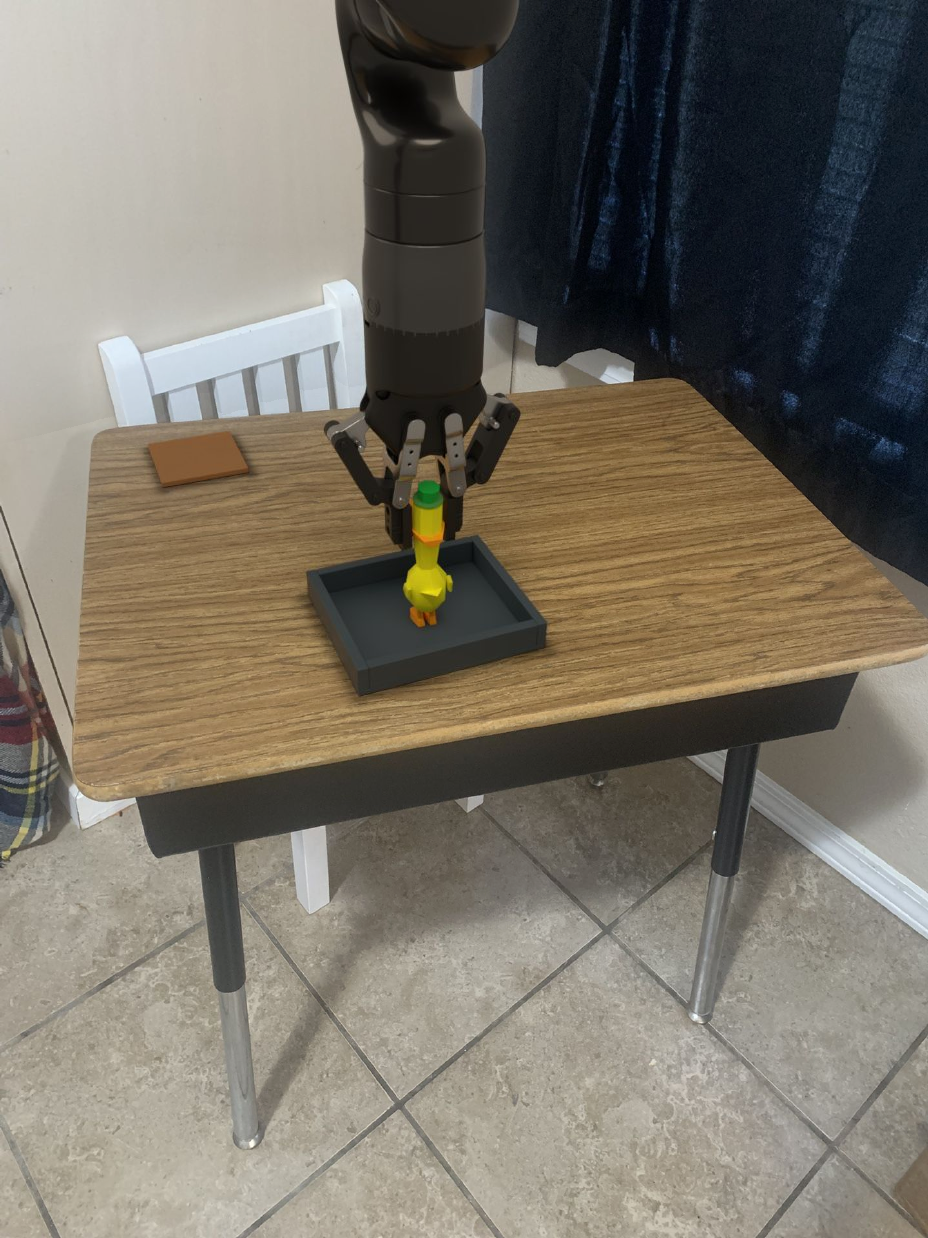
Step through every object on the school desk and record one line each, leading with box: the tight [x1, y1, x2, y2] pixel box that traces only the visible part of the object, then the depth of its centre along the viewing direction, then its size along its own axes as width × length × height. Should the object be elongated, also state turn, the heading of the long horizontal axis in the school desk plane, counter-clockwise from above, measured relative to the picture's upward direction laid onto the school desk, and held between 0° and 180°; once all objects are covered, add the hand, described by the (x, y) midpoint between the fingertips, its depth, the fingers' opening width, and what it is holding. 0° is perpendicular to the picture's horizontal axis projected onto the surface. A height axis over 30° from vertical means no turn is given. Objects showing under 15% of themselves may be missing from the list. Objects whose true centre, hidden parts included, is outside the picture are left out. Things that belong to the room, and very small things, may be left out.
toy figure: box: [403, 479, 453, 627], centre depth 71 cm, size 7×4×12 cm, turn 20°
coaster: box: [147, 430, 250, 488], centre depth 93 cm, size 8×8×1 cm
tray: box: [305, 534, 548, 697], centre depth 74 cm, size 15×13×2 cm
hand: (423, 539), depth 70 cm, fingers closed on toy figure, 2 cm apart
